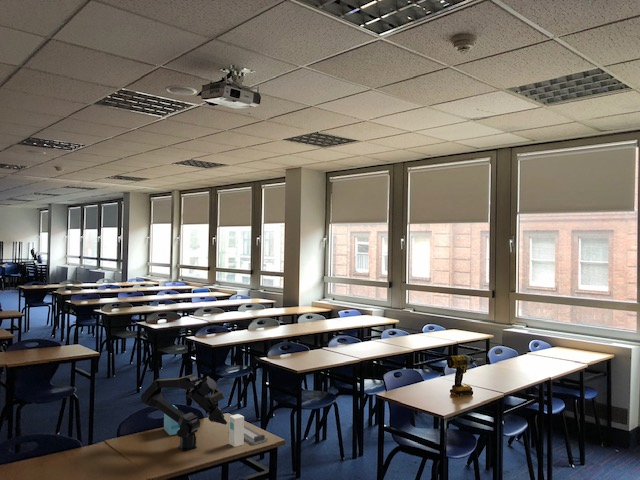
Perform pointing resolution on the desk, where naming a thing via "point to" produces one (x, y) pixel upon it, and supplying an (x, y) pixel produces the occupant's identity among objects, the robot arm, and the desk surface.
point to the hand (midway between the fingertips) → (225, 420)
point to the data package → (170, 425)
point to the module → (236, 430)
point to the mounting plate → (253, 436)
